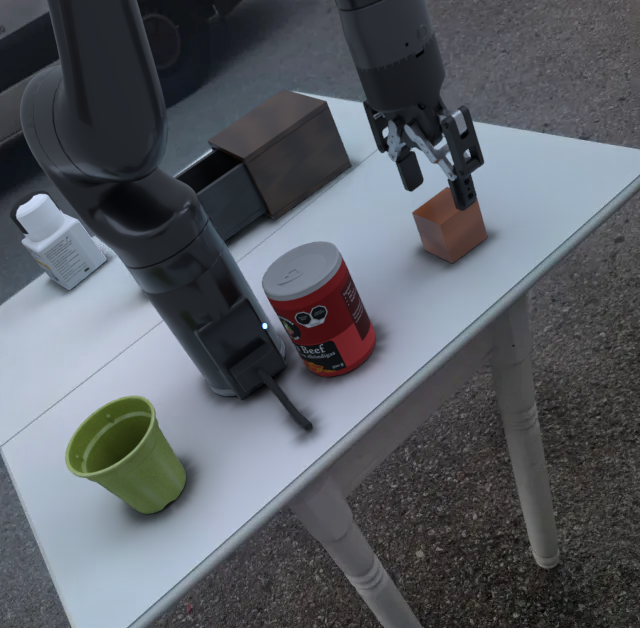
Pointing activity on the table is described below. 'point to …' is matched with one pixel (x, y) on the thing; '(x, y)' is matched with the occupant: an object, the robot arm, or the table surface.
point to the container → (56, 239)
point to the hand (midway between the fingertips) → (440, 196)
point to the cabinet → (286, 148)
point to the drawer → (225, 191)
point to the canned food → (320, 308)
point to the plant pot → (127, 454)
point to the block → (449, 226)
